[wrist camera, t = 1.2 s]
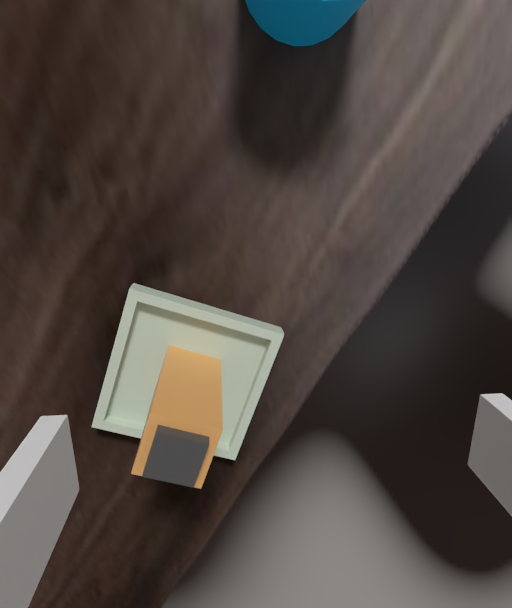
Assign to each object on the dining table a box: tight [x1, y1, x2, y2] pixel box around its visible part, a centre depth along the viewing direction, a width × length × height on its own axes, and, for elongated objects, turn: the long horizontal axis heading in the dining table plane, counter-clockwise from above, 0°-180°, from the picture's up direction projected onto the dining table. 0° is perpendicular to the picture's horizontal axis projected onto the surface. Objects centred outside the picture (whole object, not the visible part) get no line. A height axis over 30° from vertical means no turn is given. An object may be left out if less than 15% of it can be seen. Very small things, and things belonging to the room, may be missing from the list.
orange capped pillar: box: [131, 345, 223, 489], centre depth 30 cm, size 4×4×11 cm
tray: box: [92, 283, 284, 460], centre depth 35 cm, size 13×13×2 cm
